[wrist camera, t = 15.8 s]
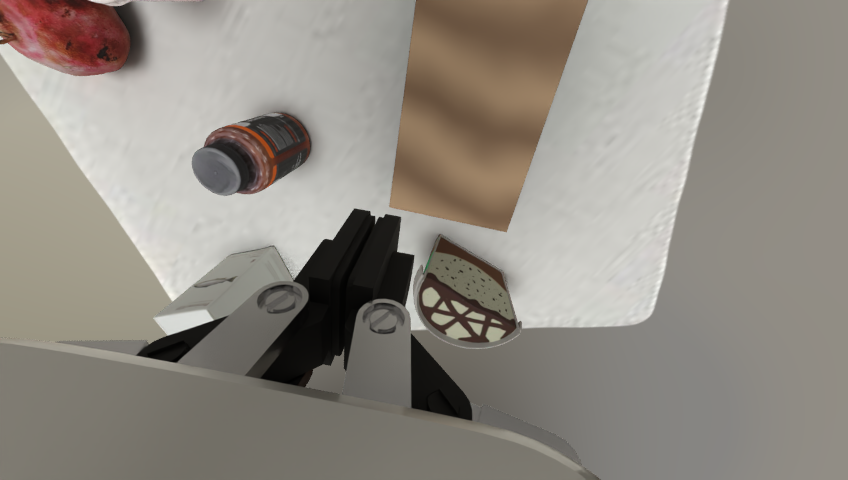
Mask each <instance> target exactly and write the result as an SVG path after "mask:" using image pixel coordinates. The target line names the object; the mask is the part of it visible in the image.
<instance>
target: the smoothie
mask: <svg viewBox="0 0 848 480" xmlns="http://www.w3.org/2000/svg"><path fill="white" fill-rule="evenodd" d="M89 1H92V2H96V3H102V4H105V5H109V6H122V5H124V4H126V3H128V2H130V1H188V2H200V1H204V0H89Z"/></svg>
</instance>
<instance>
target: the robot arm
mask: <svg viewBox="0 0 848 480" xmlns="http://www.w3.org/2000/svg"><path fill="white" fill-rule="evenodd" d="M400 223H401V217H399V216H393V215H388V214H385V216H384V218H382V217H379V218H378V220H377V222H376V224H375V216H371V214H370V211H365V210H360V209H354V210H353V211H352V213H351V214H350V216H349V217H348V218H347V220H346V221H345V223H344V224H343V226H342V227H341V229H340V230H339V232H338V233H337V235H336V236H335V238H334V239H333V240H328V239H324V240H323V241H322V242H321V244H320V245H319V247H318V248H317V249H316V251H315V252H314V253H313V255H312V256H311V258H310V259H309V260H308V262H307V263H306V264H305V266H304V267H303V269H302V270H301V271H300V273H299V274H298V276H297V277H296V278H295V280H294V281H293V282H291V281H279V282H274V283H270V284H268V285H265V286H263V287H262V288H260V289H259V290H257V291H256V292H255V293H254V294H253V295H252V296H250V297H249V298H248V299H247V300H246V301H245V302H244V303H243V304H242V305H240V306H239V307H238V308H237V309H236V310H235V311H234V312H233V313H231V314H230V315H228V316H225V317H222V318H219V319H216V320H213V321H210V322H207V323H204V324H201V325H198V326H195V327H192V328H189V329H186V330H183V331H180V332H177V333H174V334H171V335H168V336H166V337H163V338H161V339H159V340H156V341H154V342H152V343H151V344H148V342H147V340H114V341H113V340H112V341H111V340H110V341H59V342H49V341H40V340H32V339H20V338H3V337H0V480H601V479H599V478H598V477H597V476H596V475H594V474H593V473H592V472H590V471H589V470H587V469H586V468H585V467H583V466H582V464H581V460H580V459H579V457H578V455H577V453H576V452H575V450H574V449H573V448H572V447H571V446H570V445H569V444H568V443H567V441H565V440H564V439H562V438H561V437H559V436H557V435H556V434H554V433H551V432H549V431H547V430H544V429H542V428H539V427H537V426H535V425H532V424H530V423H528V422H525V421H523V420H521V419H518V418H516V417H513V416H511V415H509V414H506V413H504V412H502V411H499V410H497V409H494V408H492V407H490V406H488V405H485V404H483V405H482V407H479V406H477V405H474V404H472V403H470V402H469V400H468V398H467V397H466V395H465V394H464V392H463V391H462V390H461V389H460V388H459V387H458V386H457V385H456V383H455V382H454V381H453V380H452V379H451V378H450V377H449V375H448V374H447V373H446V372H445V371H444V370H443V369H442V368H441V366H440V365H439V364H438V363H437V362H436V361H435V360H434V358H433V357H432V356H431V355H430V354H429V353H428V352H427V351H426V350H425V349H424V347H423V346H422V345H421V344H420V343H419V342H418V341H417V339H416V338H415V337H414V336H413V335H412V334H411V319H410V314H409V312H408V311H407V309H406V308H405V305H406V301H407V296H408V291H409V286H410V281H411V275H412V269H413V263H414V255H410V254H405V253H400V252H397V248H398V240H399V231H400ZM343 349H344V369H345V370H346V376H345V381H344V386H343V392H342V394H337V393H332V392H326V391H321V390H316V389H311V388H306V385H307V384H308V382H309V380H310V379H311V376H312V374H313V369H314V368H316V367H318V366H320V365H322V364H325V365H330V366H331V363H332V361H333V359H334V356H335V355H336V356H340V355H341V354H342V351H343Z"/></svg>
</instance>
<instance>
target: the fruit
mask: <svg viewBox="0 0 848 480" xmlns="http://www.w3.org/2000/svg"><path fill="white" fill-rule="evenodd" d="M0 36H1V37H2V38H3V40H0V44H5V43H8V44H9V45H11V46H12V47H13V48H14V49H15V50H17V51H18V52H19V53H21V54H23V55H24V56H26V57H27V58H29V59H31V60H33V61H35V62H38V63H40V64H42V65H45V66H47V67H50V68H52V69H55V70H58V71H60V72H63V73H67V74H71V75H74V76H90V75H99V74H103V73H107V72H113V71H116V70H119V69H120V68H121V67H122V66H123V65H124V63H125V62H126V60H127V57H128V54H129V50H130V45H131V41H130V36H129V32H128V30H127V28H126V27H125V25H124V23H123V22H122V20H121V19H120V17H119V16H118V14H117V12H116V10H115V9H114V7H113V6H109V5H105V4H102V3H96V2H92V1H89V0H0Z"/></svg>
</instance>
